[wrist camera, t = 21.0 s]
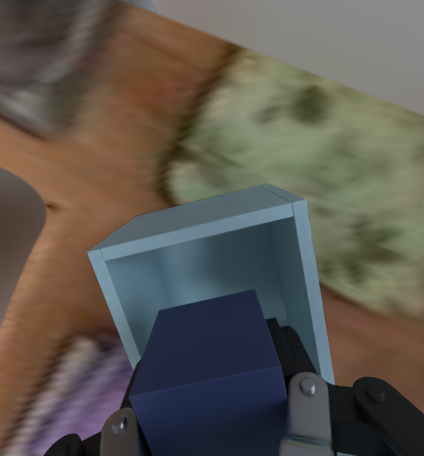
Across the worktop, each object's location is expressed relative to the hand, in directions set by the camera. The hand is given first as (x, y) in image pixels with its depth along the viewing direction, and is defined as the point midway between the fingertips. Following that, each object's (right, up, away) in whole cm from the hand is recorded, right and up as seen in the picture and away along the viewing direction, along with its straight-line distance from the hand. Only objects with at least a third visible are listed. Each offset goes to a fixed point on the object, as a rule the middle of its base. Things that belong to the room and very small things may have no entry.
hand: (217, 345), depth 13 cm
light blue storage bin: (+1, +1, +12) cm, 13 cm away
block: (0, 0, 0) cm, 0 cm away
